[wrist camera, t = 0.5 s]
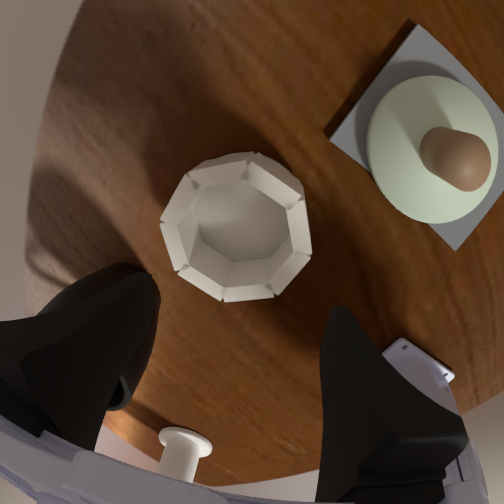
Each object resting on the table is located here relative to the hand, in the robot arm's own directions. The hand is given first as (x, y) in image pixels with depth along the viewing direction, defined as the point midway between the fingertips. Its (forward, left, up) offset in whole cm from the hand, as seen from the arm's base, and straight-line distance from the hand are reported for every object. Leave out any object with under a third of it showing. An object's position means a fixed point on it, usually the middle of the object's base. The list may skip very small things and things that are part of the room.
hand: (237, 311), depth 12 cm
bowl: (+1, 0, -10) cm, 10 cm away
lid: (-6, -11, -9) cm, 15 cm away
